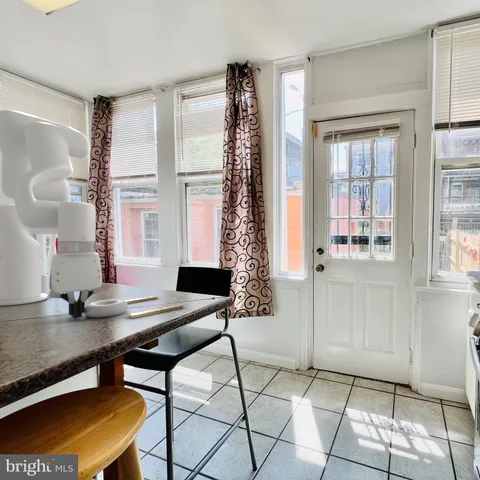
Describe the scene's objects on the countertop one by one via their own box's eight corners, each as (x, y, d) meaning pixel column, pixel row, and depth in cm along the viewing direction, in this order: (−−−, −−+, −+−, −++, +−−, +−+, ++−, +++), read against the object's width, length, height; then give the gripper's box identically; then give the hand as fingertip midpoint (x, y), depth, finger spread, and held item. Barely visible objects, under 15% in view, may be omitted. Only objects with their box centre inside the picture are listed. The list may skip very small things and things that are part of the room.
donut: (124, 307, 85) (82, 312, 78) (125, 296, 85) (83, 300, 78) (130, 315, 78) (84, 321, 71) (131, 303, 78) (85, 308, 71)
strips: (107, 305, 86) (107, 303, 86) (154, 297, 98) (154, 295, 97) (132, 318, 74) (132, 315, 74) (182, 308, 86) (183, 305, 86)
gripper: (106, 247, 80) (106, 308, 81) (34, 248, 68) (34, 320, 69) (115, 248, 76) (115, 313, 76) (39, 250, 64) (39, 327, 64)
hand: (76, 316), depth 72 cm, fingers closed
